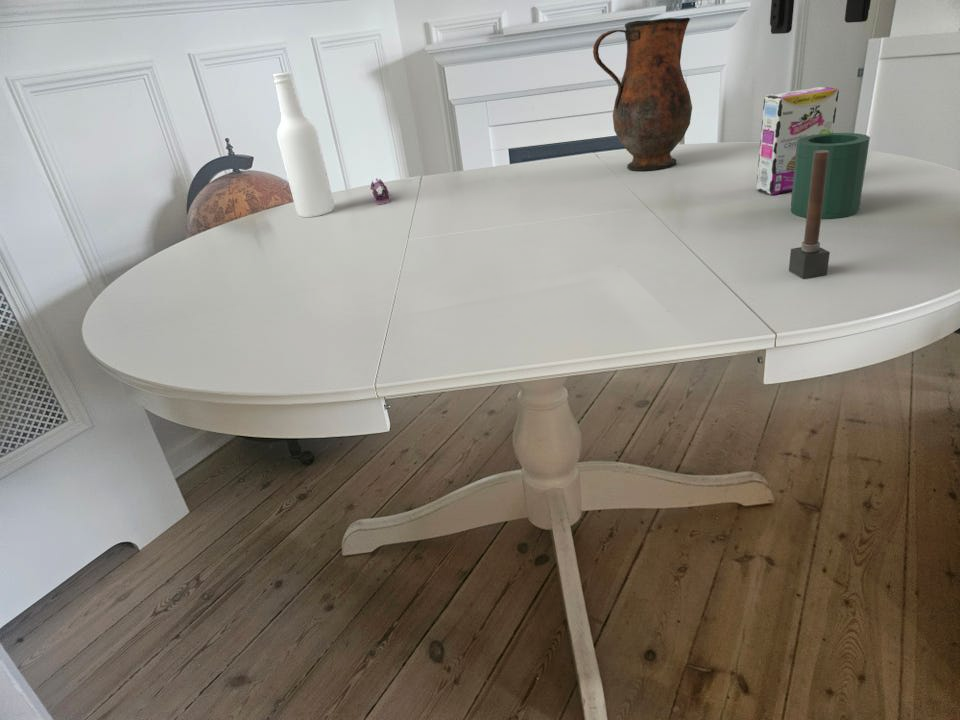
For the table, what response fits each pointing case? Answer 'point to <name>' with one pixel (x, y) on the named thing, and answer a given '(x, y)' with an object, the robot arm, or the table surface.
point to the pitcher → (651, 92)
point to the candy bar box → (791, 132)
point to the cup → (831, 173)
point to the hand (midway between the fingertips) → (818, 27)
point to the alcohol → (301, 153)
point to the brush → (813, 225)
